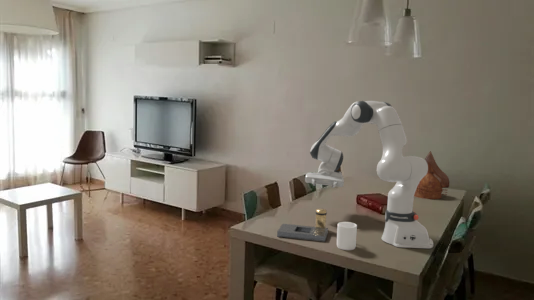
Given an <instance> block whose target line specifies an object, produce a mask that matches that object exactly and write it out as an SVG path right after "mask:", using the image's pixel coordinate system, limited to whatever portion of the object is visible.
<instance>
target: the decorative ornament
mask: <svg viewBox="0 0 534 300" xmlns="http://www.w3.org/2000/svg"><path fill="white" fill-rule="evenodd" d="M424 159H425V161H426V162H427V165H428V172H427V174H426V175H425V176H424V177H423V178H422V179H421V181H420V182H419V184H418V186H417V188H416V191H415V194H414V197H415V198H418V199H424V200H426V199H427V200H440V199H442V198H443V195H444V196H447V195H448V194H447V193H448V189H447V188H450V178H449V176H448V174H447V173H445V172H444V171H443V170H442V169H441V167H439V166H438V164H437V162H436V159H435V158H434V155H433V154H432V151H429V152H428V153H427V155H426V156H425V157H424Z"/></svg>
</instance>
